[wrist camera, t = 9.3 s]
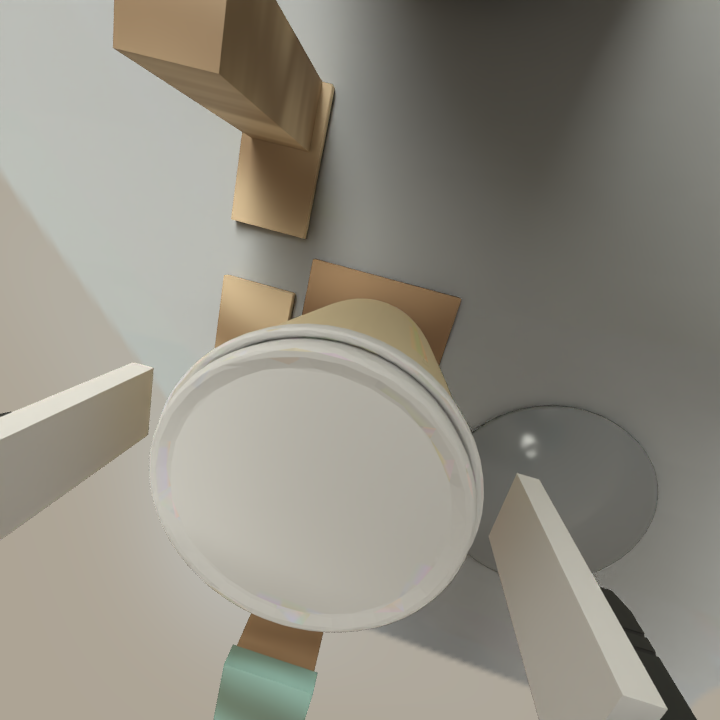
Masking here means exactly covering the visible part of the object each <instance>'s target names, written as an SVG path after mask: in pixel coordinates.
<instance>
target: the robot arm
mask: <svg viewBox="0 0 720 720" xmlns="http://www.w3.org/2000/svg"><path fill="white" fill-rule="evenodd" d="M153 369H154V368H152V367H148V366H145V365H142V364H138V363H135V362H133V363H130V364H128V365H125V366H123V367H121V368H118V369H116V370H113V371H111V372H108V373H106V374H104V375H101V376H99V377H96V378H94V379H92V380H89V381H87V382H84V383H82V384H80V385H77V386H75V387H72V388H70V389H67V390H65V391H62V392H60V393H58V394H55V395H53V396H51V397H48V398H46V399H43V400H41V401H38V402H36V403H33V404H31V405H28V406H26V407H24V408H21V409H19V410H16V411H14V412H7V413H3V414H0V540H1V539H3V538H4V537H6V536H7V535H8V534H10V533H11V532H12V531H14V530H15V529H17V528H18V527H20V526H21V525H23V524H24V523H25V522H27V521H28V520H30V519H31V518H32V517H34V516H35V515H36V514H38V513H39V512H41V511H42V510H43V509H45V508H46V507H48V506H49V505H51V504H52V503H53V502H55V501H56V500H58V499H59V498H60V497H62V496H63V495H64V494H66V493H67V492H69V491H70V490H71V489H73V488H74V487H76V486H77V485H79V484H80V483H81V482H82V481H84V480H85V479H87V478H88V477H90V476H91V475H93V474H94V473H95V472H97V471H98V470H100V469H101V468H102V467H104V466H105V465H107V464H108V463H109V462H111V461H112V460H114V459H115V458H116V457H118V456H119V455H121V454H122V453H123V452H125V451H126V450H128V449H129V448H130V447H132V446H133V445H134V444H136V443H137V442H139V441H140V440H142V439H143V438H144V437H146V436H147V435H148V430H149V418H150V405H151V393H152V381H153ZM489 540H490V544H491V547H492V551H493V554H494V558H495V562H496V565H497V569H498V573H499V576H500V580H501V584H502V587H503V591H504V595H505V598H506V602H507V606H508V609H509V613H510V617H511V620H512V624H513V627H514V631H515V635H516V638H517V642H518V646H519V649H520V653H521V657H522V660H523V664H524V668H525V671H526V675H527V679H528V682H529V686H530V690H531V693H532V697H533V700H534V704H535V707H536V711H537V715H538V719H539V720H697V719H696V718H695V716H694V714H693V713H692V711H691V709H690V708H689V706H688V704H687V703H686V701H685V700H684V698H683V696H682V695H681V693H680V691H679V690H678V688H677V686H676V685H675V683H674V681H673V680H672V678H671V677H670V675H669V673H668V672H667V670H666V668H665V667H664V665H663V663H662V662H661V660H660V658H659V657H656V655H655V653H656V652H655V650H654V649H653V647H652V645H651V644H650V642H649V640H648V639H647V638H645V637H644V632H643V631H642V629H641V627H640V626H639V624H638V622H637V621H636V619H635V617H634V616H633V614H632V613H631V611H630V610H629V609H628V608H627V607H626V606H625V605H624V604H623V602H622V601H621V600H620V599H619V598H618V597H617V596H616V595H615V594H614V593H613V592H612V591H611V590H608V589H604V588H601V587H599V585H598V584H597V582H596V580H595V578H594V576H593V575H592V573H591V571H590V569H589V567H588V566H587V564H586V562H585V560H584V559H583V557H582V555H581V553H580V551H579V550H578V548H577V546H576V544H575V543H574V541H573V539H572V537H571V535H570V534H569V532H568V530H567V528H566V526H565V525H564V523H563V521H562V519H561V518H560V516H559V514H558V512H557V510H556V509H555V507H554V505H553V503H552V501H551V500H550V498H549V496H548V494H547V493H546V491H545V489H544V487H543V485H542V484H541V482H540V480H539V479H536V478H532V477H529V476H525V475H522V474H519V473H517V474H516V476H515V478H514V481H513V483H512V485H511V487H510V490H509V492H508V494H507V496H506V498H505V501H504V503H503V505H502V507H501V510H500V512H499V514H498V516H497V519H496V521H495V523H494V525H493V527H492V530H491V532H490V534H489Z"/></svg>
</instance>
